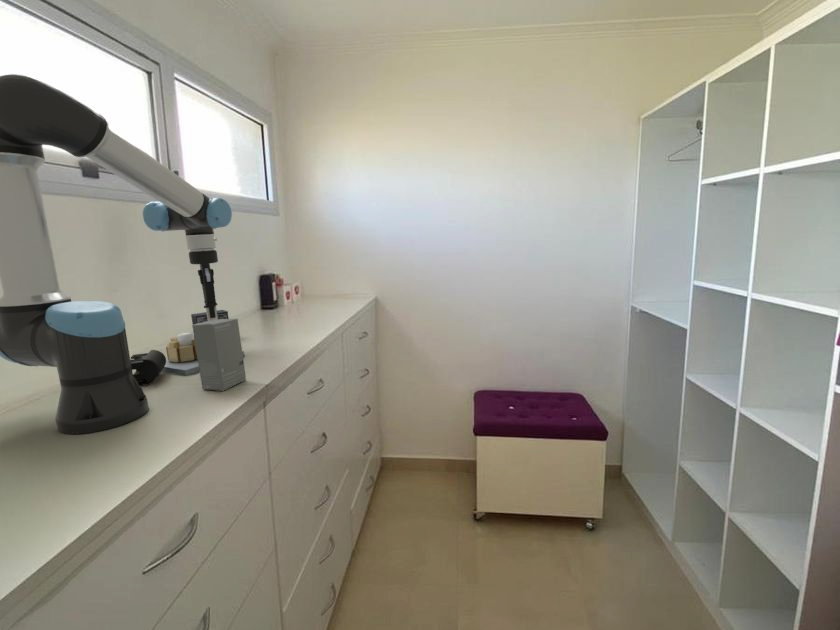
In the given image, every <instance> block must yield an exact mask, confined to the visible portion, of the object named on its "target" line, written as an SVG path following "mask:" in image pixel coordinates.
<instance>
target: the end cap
mask: <svg viewBox="0 0 840 630" xmlns="http://www.w3.org/2000/svg"><path fill="white" fill-rule="evenodd" d="M165 357H166V356H165V354H164V353H163V352H162V351H160V350H156V349H151V350H150V351H149V352H145V353H138V354H136V353H135V354H132V356H130V361H131V367H132V371H133V370H135V372H133V376H134V377H135V379H136V381H137V382H138V384H139V386H140V387H141V386H147V385H150V384H152V383H153V382H154V381H155V380H156V379H157V378H158V377H159V375H160V373H162V372H161V371H162V369H163V368H164V366H165V364H166V358H165Z"/></svg>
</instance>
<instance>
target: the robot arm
mask: <svg viewBox="0 0 840 630" xmlns="http://www.w3.org/2000/svg"><path fill="white" fill-rule="evenodd" d="M43 146H51V147H55V148H58V149H60V150H63V151H64V152H67V153H69V154H71V155H72V156H73V157H76V158H87V159H89V160H90V161H92V162H94V163H95V164H96V165H99V166H100V167H102V168H104V169H105V170H107V171H109V172H110V173H111V174H113V175H115V176H117V177H118V178H120V179H121V180H123V181H125V182H126V183H128V184H130V185H132V186H133V187H135V188H136V189H138V190H139V191H141V192H142V193H145V194H147V195H148V196H150V197H151V198H152V199H155V200H156V201H149V202H148V203H146V204H145V205H144V207H143V210H142V219H143V221H144V224H145V225H146V227H147V228H148V229H150V230H152V231H156V232H158V231H160V232H167V231H168V232H171V231H184V233H185V240H186V246H187V250H189V252H188V258H189V263H190V265H199V269H198V270H197V274H198V276H199V282H200V285H201V287H202V292H203V293H202V294H203V299H204V301H203V303H204V305H203V309H205V312H207V318H208V321H212V320H217V319H218V316H217V310H218V309H217V306H218V302H217V299H216V293H215V279H214V274H215V272H214V269H213V268H211V265H210V264H215V263H218V262H219V258H218V253H217V252H218V251H217V250H215V248H217V246H216V242H218V238H217V237H215V231H214V230H215V229H219V228H224V227H227V226H229V224H230V223H231V221H232V217H233V212H232V208H231V206H230V204H229V202H228V201H227V200H226V199H224V198H220V197H209V196H207V195H206V194H204V193H203V192H202V191H200V190H199V189H198V188H195V187H194V186H193V185H192V184H191V183H189V182H187V181H186V180H184V178H182V177H180V175H178V174H176V173H175V172H174V171H172V170H170V169H169V168H168V167H167V166H165V165H164V164H162V163H160V161H158V160H157V159H155V158H154V157H153V156H151V155H150V154H148V153H147V152H146V151H144V150H143V149H142V148H140V147H139V146H137V145H135V144H134V143H133V142H131V141H130V140H128V139H127V138H126V137H124V136H123V135H122V134H120V133H118V132H117V131H116V130H115V129H113V128H112V127H111V126H110V125H109V122H108V119H107V118H106V117H105V116H103V114H101V113H99V112H98V111H97V110H96V109H94V108H93V107H91V106H90V105H88V104H87V103H85V102H84V101H83V100H80V99H79V98H78V97H76V96H74V95H72V94H71V93H69V92H68V91H65V90H63V89H61V88H59V87H58V86H55V85H54V84H52V83H50V82H47V81H46V80H45V81H44V80H42V79H39V78H37V77H33V76H31V75H24V74H12V73H11V74H9V73H8V74H4V75H0V283H1V288H2V292H3V294H2V297H1V298H0V357H1V358H2V359H4V360H6V361H8V362H11V363H15V364H18V365H21V366H26V367H48V368H49V367H51V368H56V370H57V374H58V375H57V376H58V378H59V379H58V380H59V383H60V384H59V385H60V395H59V399H58V405H57V409H56V413H55V414H56V415H55V424H56V428H57V431H58V432H59V433H63V434H69V435H74V434H75V435H78V434H89V433H93V432H100V431H104V430H108V429H112V428H116V427H119V426H122V425H125V424H127V423H130V422H132V421H134V420H137V419H139V418H140V417H142V416H144V415H145V414H146V413H148V411H149V402H148V397H147V395H146V394H145V392H144V391H143V389H142V387H141V386H139V384H138V382H137V381H136V379H135V377H134V376H133V374H134V372H133V370H132V367H131V361H130V360H131V356H130V351H129V344H128V337H127V336H128V335H127V332H126V323H125V320H124V316H123V314H122V311H121V309H120V307H119V306H117V305H116V304H114V303H112V302H109V301H108V302H107V301H99V300H91V301H89V300H88V301H87V300H85V301H84V300H77V301H72V299H71V296H70V295H68V294H67V293H65V292H64V291H62V290H61V289H60V288H61V287H60V284H59V279H58V273H57V268H56V262H55V259H54V253H53V248H52V242H51V237H50V231H49V227H48V222H47V217H46V216H47V215H46V212H45V206H44V200H43V194H42V190H41V184H40V179H39V175H38V170H39V168H40V167H41V166H42V165H43V164H45V163H46V159H45V153H44V152H45V151H44V148H43Z"/></svg>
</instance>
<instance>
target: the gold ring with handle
mask: <svg viewBox="0 0 840 630" xmlns="http://www.w3.org/2000/svg"><path fill="white" fill-rule="evenodd" d="M165 348H166V354H167V356H168V361H169V362H180V361H181V362H185V361H192V360H195V359H198V358H197V351H196V345H195V339H193V340H192V345H187V346H180V344H179V341H178V336H175V337H171V338H170V342H168V344H167V345H166V346H165ZM167 356H166V357H167Z"/></svg>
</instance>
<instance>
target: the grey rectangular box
mask: <svg viewBox="0 0 840 630" xmlns="http://www.w3.org/2000/svg"><path fill="white" fill-rule="evenodd" d="M238 319H239V318H229V319H217V320H212V321H206V322H202V323H198V324H192V325H191V326H192V331H193V332H192V333H193V336H194V339H195V345H196V351H197V358H198V364H199V377H200V382H201V388H202V390H211V391H221V392H224V390H225V391H227V390H228V389H230V387H231V388H233V387H235V386H236V384H237V385H238V383H239V384H241V383H242V382H245V381H246V380H247V377H246V370H245V362H244V356H243V354H242V351H243V348H242V342H241V341H242V340H241V334H240V333H241V332H240V327H239V320H238ZM240 382H241V383H240ZM234 385H235V386H234ZM232 386H233V387H232Z"/></svg>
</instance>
